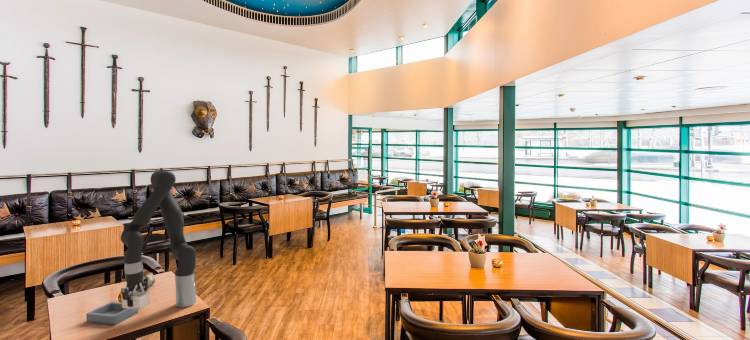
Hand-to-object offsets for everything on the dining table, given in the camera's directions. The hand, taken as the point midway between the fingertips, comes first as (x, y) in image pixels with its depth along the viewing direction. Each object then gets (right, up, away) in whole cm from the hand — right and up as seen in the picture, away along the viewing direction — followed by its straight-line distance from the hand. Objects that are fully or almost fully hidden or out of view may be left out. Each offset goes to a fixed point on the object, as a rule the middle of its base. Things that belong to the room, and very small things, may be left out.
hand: (136, 303), depth 181 cm
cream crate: (0, -1, 0) cm, 1 cm away
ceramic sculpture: (-22, -6, +42) cm, 48 cm away
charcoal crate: (-15, -9, +5) cm, 18 cm away
